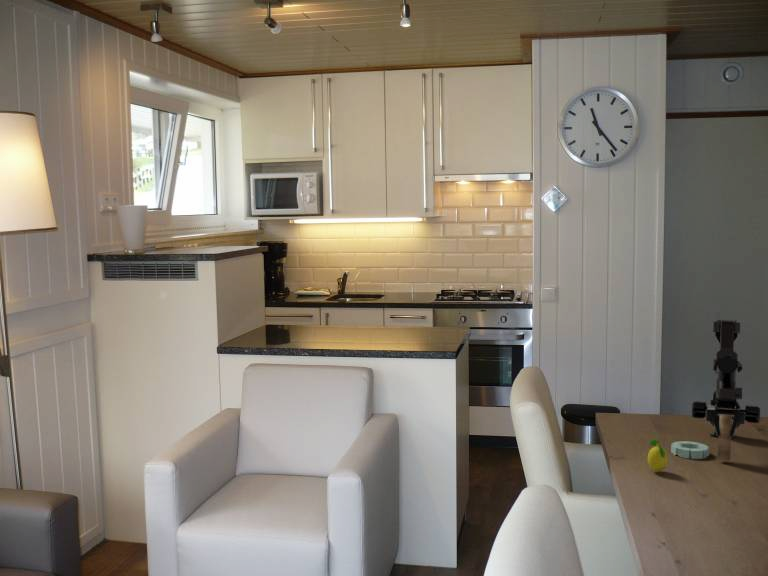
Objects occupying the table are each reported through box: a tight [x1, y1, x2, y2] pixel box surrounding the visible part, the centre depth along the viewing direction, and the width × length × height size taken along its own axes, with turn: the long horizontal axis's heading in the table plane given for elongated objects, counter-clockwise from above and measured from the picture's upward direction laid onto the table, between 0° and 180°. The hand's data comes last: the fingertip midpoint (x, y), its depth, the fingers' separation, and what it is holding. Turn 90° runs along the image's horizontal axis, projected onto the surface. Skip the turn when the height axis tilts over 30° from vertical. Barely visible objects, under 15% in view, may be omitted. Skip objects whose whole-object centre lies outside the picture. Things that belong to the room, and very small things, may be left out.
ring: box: [670, 440, 710, 460], centre depth 255 cm, size 10×10×2 cm
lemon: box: [647, 438, 669, 473], centre depth 237 cm, size 7×6×10 cm
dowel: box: [717, 414, 732, 461], centre depth 246 cm, size 3×3×13 cm
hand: (724, 436), depth 244 cm, fingers closed on dowel, 3 cm apart
